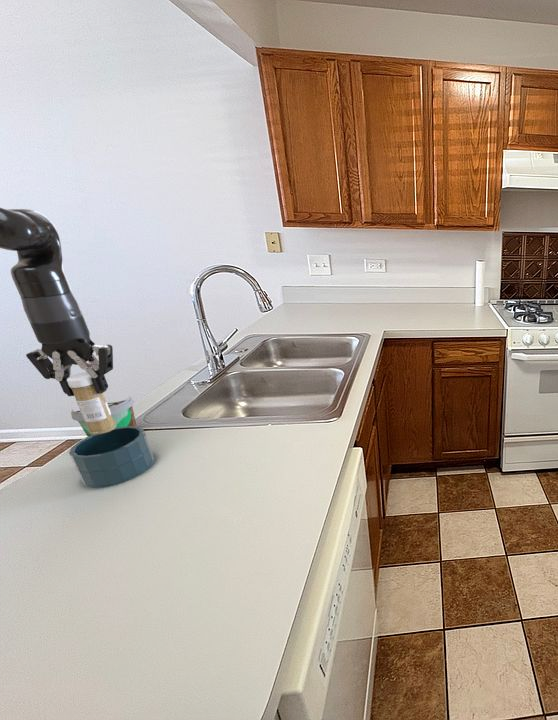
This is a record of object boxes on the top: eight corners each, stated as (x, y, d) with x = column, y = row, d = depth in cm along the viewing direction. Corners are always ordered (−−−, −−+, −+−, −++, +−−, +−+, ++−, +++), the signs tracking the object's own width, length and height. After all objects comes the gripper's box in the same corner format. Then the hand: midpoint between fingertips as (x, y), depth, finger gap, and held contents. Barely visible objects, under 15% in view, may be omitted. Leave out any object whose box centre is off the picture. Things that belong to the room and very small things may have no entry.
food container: (81, 454, 98) (65, 419, 94) (83, 443, 103) (68, 409, 99) (144, 436, 105) (132, 403, 102) (144, 427, 110) (132, 395, 106)
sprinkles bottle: (121, 423, 91) (100, 370, 86) (109, 434, 87) (86, 378, 82) (97, 426, 90) (75, 372, 85) (84, 437, 86) (60, 380, 81)
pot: (68, 492, 85) (53, 461, 82) (105, 457, 97) (93, 429, 94) (136, 483, 88) (124, 453, 85) (164, 451, 99) (154, 423, 96)
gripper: (110, 309, 83) (136, 382, 90) (27, 313, 80) (61, 389, 87) (86, 319, 77) (116, 397, 83) (-5, 324, 74) (33, 405, 80)
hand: (87, 393), depth 85 cm, fingers closed on sprinkles bottle, 4 cm apart
